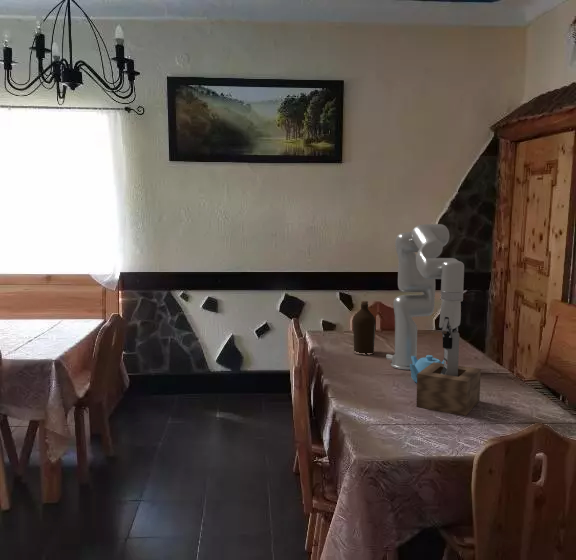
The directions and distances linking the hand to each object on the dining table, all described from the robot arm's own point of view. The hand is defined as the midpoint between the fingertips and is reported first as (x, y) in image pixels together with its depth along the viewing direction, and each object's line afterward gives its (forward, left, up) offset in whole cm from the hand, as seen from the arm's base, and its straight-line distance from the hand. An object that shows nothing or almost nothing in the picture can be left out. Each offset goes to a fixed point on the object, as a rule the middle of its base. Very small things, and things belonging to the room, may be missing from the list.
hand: (450, 345), depth 212 cm
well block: (0, 0, -21) cm, 21 cm away
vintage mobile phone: (0, 0, -12) cm, 12 cm away
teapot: (-15, +22, -22) cm, 34 cm away
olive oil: (-56, +49, -22) cm, 77 cm away
